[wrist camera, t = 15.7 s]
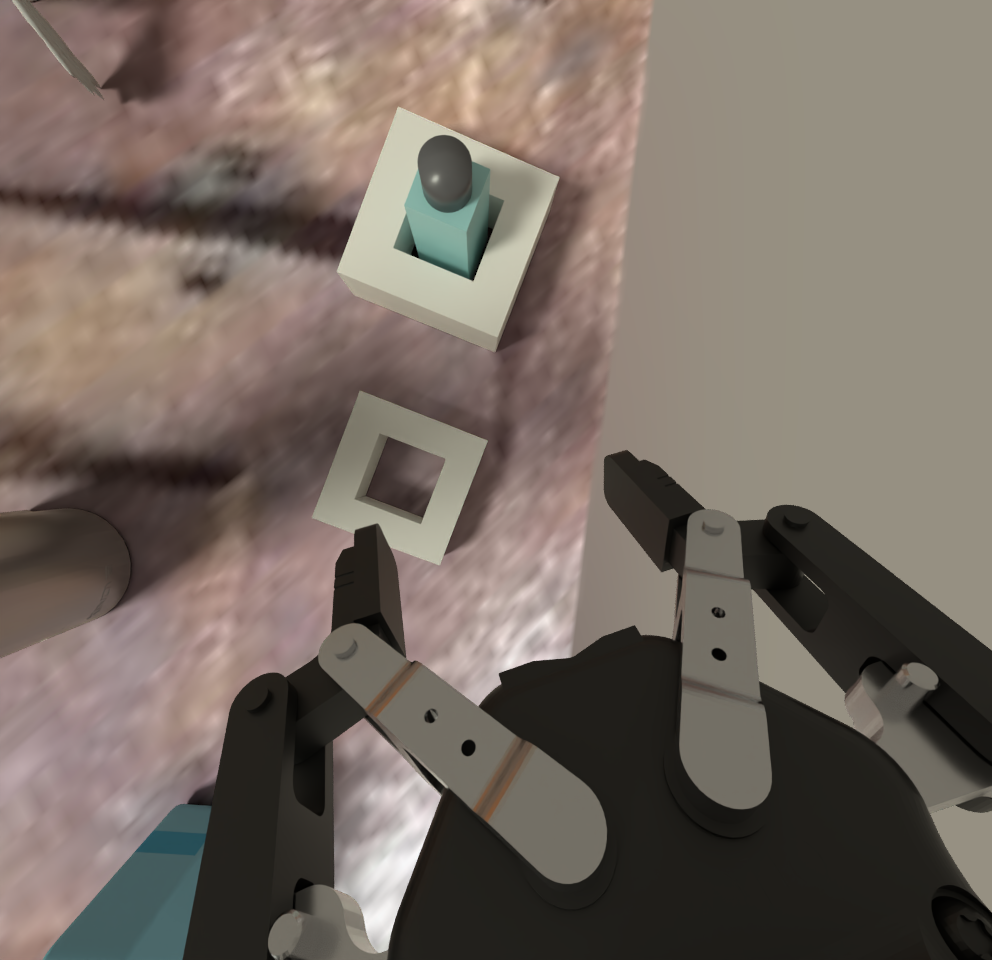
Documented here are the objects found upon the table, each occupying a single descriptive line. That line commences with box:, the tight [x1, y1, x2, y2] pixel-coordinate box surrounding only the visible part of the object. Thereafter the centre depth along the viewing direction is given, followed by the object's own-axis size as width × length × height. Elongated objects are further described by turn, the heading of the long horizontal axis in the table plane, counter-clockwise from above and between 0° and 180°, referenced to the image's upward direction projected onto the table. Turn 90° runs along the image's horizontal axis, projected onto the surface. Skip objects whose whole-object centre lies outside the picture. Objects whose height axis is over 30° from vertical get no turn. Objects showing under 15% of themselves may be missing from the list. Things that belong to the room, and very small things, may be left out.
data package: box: [43, 804, 212, 960], centre depth 28 cm, size 12×4×12 cm, turn 174°
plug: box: [404, 135, 490, 281], centre depth 28 cm, size 4×4×10 cm
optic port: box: [337, 107, 559, 352], centre depth 31 cm, size 12×12×4 cm
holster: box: [312, 391, 488, 565], centre depth 32 cm, size 10×10×3 cm
